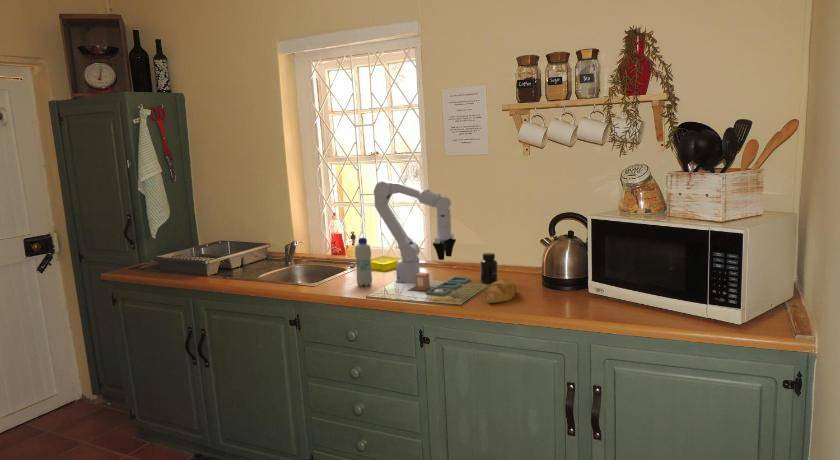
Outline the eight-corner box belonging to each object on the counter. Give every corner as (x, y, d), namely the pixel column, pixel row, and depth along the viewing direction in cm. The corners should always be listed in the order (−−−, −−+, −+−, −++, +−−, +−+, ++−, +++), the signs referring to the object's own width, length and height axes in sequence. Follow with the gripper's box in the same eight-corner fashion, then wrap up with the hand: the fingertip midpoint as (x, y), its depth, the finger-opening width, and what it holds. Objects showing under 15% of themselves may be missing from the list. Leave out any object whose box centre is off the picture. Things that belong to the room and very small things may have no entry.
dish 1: (426, 295, 217) (426, 291, 217) (434, 291, 224) (434, 287, 223) (443, 296, 214) (443, 293, 214) (451, 292, 220) (451, 288, 220)
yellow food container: (406, 267, 273) (406, 257, 273) (383, 273, 262) (383, 262, 262) (384, 264, 283) (384, 254, 283) (361, 269, 273) (361, 259, 272)
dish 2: (437, 289, 226) (437, 285, 226) (444, 285, 232) (444, 281, 232) (454, 290, 223) (454, 287, 223) (461, 286, 229) (461, 283, 229)
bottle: (375, 284, 239) (373, 236, 236) (367, 288, 233) (365, 239, 230) (361, 283, 241) (359, 236, 239) (353, 286, 235) (350, 238, 233)
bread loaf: (496, 315, 200) (506, 297, 197) (473, 300, 203) (482, 281, 200) (519, 299, 218) (528, 282, 215) (497, 285, 221) (505, 268, 218)
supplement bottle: (497, 284, 230) (496, 255, 228) (479, 284, 231) (479, 255, 229) (498, 281, 236) (497, 252, 235) (481, 280, 238) (480, 252, 236)
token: (434, 294, 217) (434, 291, 217) (434, 291, 220) (433, 289, 220) (443, 293, 217) (443, 291, 217) (443, 291, 220) (443, 289, 220)
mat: (406, 291, 224) (406, 290, 224) (417, 286, 232) (417, 285, 232) (427, 293, 220) (427, 292, 220) (437, 287, 228) (437, 287, 228)
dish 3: (447, 283, 235) (447, 280, 235) (454, 279, 241) (454, 276, 241) (463, 285, 232) (463, 281, 231) (470, 281, 238) (470, 277, 238)
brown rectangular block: (415, 289, 225) (415, 274, 224) (420, 287, 229) (420, 272, 228) (424, 290, 223) (424, 275, 223) (429, 288, 227) (429, 273, 226)
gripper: (445, 228, 228) (446, 261, 230) (459, 223, 240) (460, 255, 242) (429, 227, 231) (430, 260, 233) (444, 223, 244) (445, 254, 245)
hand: (445, 258), depth 238 cm, fingers open, 7 cm apart
